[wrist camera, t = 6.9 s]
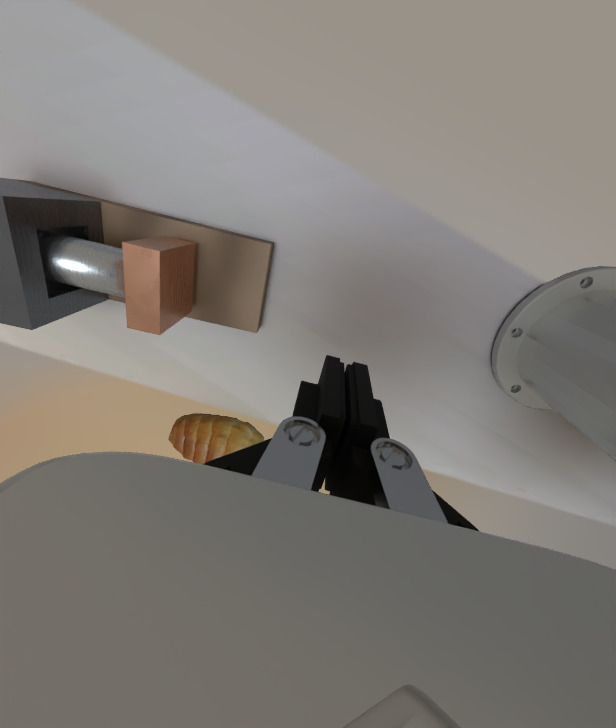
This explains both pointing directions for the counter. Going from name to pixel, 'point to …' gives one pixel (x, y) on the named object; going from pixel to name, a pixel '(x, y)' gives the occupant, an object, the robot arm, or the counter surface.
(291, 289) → the counter surface
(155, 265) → the shaft
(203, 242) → the shaft frame
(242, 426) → the pastry
